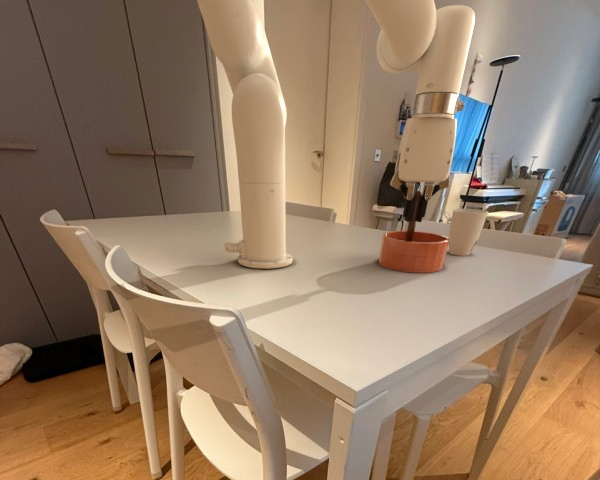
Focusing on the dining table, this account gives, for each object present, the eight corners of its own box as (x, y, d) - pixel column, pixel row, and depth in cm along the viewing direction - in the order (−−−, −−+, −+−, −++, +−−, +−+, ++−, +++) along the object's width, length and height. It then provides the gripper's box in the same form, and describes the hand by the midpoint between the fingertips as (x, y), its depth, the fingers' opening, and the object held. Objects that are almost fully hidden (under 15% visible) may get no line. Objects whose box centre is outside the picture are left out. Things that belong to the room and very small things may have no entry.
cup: (480, 257, 86) (494, 213, 80) (448, 256, 86) (460, 212, 80) (468, 250, 92) (480, 209, 87) (438, 249, 92) (449, 208, 87)
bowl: (384, 271, 73) (389, 242, 70) (374, 256, 85) (378, 230, 81) (450, 273, 73) (459, 243, 69) (431, 257, 85) (438, 231, 81)
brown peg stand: (397, 258, 75) (409, 191, 67) (393, 253, 79) (404, 189, 71) (419, 259, 75) (433, 192, 67) (413, 254, 79) (426, 190, 71)
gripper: (468, 112, 65) (443, 219, 76) (387, 110, 65) (373, 217, 76) (485, 107, 59) (454, 224, 69) (395, 105, 59) (379, 223, 70)
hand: (412, 220), depth 72 cm, fingers closed on brown peg stand
